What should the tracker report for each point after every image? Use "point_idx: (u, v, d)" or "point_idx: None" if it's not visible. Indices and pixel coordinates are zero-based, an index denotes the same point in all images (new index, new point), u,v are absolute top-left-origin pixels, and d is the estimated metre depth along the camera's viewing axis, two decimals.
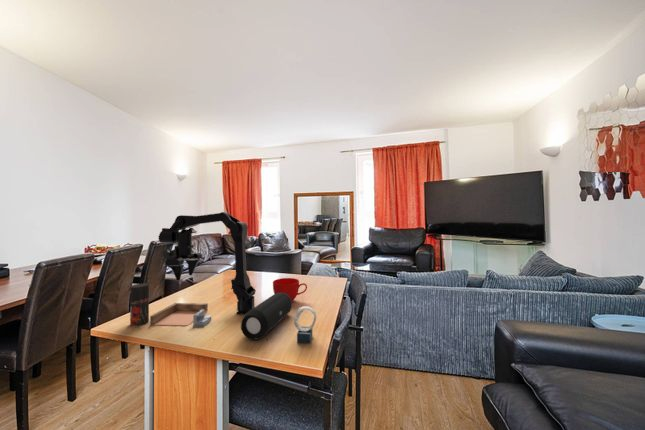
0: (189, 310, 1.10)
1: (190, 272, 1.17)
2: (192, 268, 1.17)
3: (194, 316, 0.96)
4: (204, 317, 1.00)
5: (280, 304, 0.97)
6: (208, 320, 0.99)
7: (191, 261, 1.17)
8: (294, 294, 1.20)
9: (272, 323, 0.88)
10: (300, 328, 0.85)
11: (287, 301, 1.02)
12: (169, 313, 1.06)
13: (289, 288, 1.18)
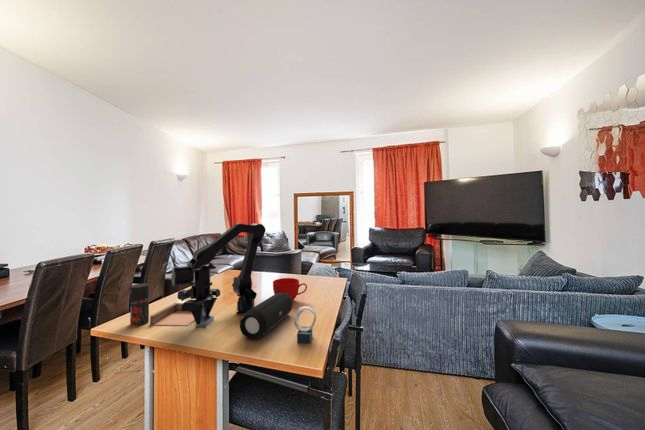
0: None
1: None
2: (208, 309, 1.02)
3: None
4: (206, 317, 1.00)
5: (280, 304, 0.97)
6: (210, 320, 0.99)
7: (207, 301, 1.02)
8: (294, 294, 1.20)
9: (271, 323, 0.88)
10: (300, 328, 0.85)
11: (287, 301, 1.02)
12: (169, 313, 1.06)
13: (289, 288, 1.18)
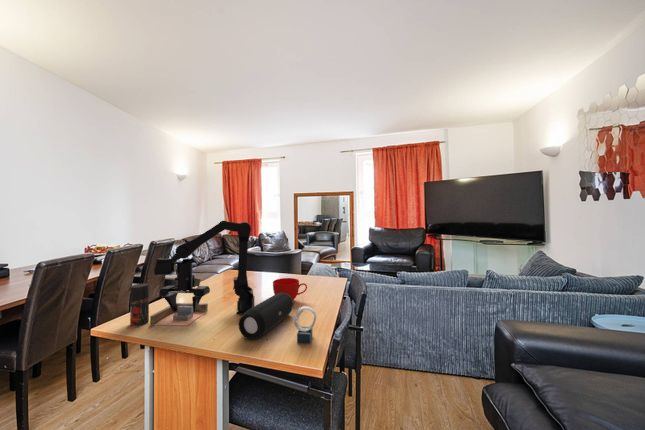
0: None
1: None
2: None
3: None
4: (186, 313, 1.02)
5: (280, 304, 0.97)
6: (181, 317, 1.00)
7: None
8: (294, 294, 1.20)
9: (270, 323, 0.88)
10: (300, 328, 0.85)
11: (287, 301, 1.02)
12: (169, 313, 1.06)
13: (289, 288, 1.18)
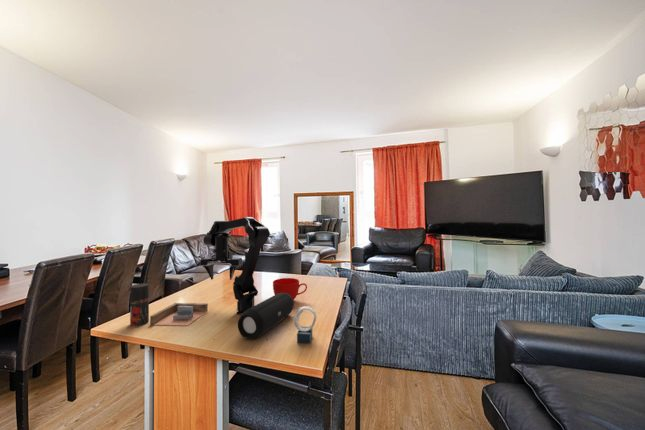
0: None
1: None
2: None
3: None
4: (186, 313, 1.02)
5: (279, 304, 0.97)
6: (181, 317, 1.00)
7: None
8: (294, 294, 1.20)
9: (269, 323, 0.88)
10: (300, 328, 0.85)
11: (288, 302, 1.02)
12: (169, 313, 1.06)
13: (289, 288, 1.18)
